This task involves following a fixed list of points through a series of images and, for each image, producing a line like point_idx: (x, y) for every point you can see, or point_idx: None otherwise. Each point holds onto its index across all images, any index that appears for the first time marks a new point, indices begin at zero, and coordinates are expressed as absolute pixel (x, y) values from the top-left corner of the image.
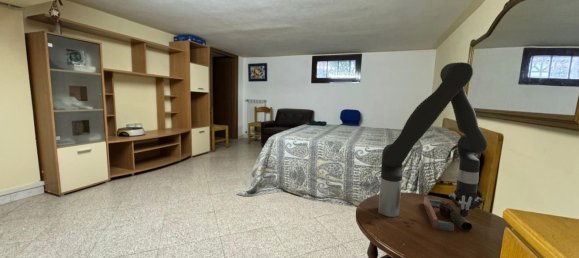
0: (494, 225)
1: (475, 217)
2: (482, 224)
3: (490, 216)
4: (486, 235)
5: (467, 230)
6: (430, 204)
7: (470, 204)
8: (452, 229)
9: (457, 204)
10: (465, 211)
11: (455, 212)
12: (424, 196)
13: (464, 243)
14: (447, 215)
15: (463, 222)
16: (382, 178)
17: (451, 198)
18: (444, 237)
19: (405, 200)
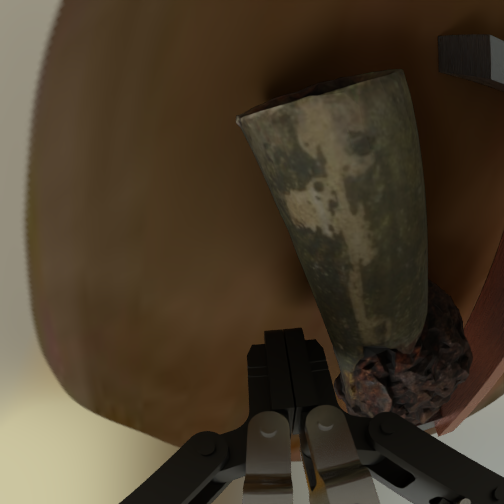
0: (55, 319)
1: (165, 380)
2: (121, 305)
3: (93, 402)
4: (105, 88)
5: (291, 95)
6: (501, 363)
7: (220, 489)
8: (457, 38)
9: (403, 445)
10: (280, 389)
11: (394, 337)
12: (453, 430)
13: None
14: (432, 292)
15: (397, 84)
16: None
17: (490, 480)
18: None
19: None
